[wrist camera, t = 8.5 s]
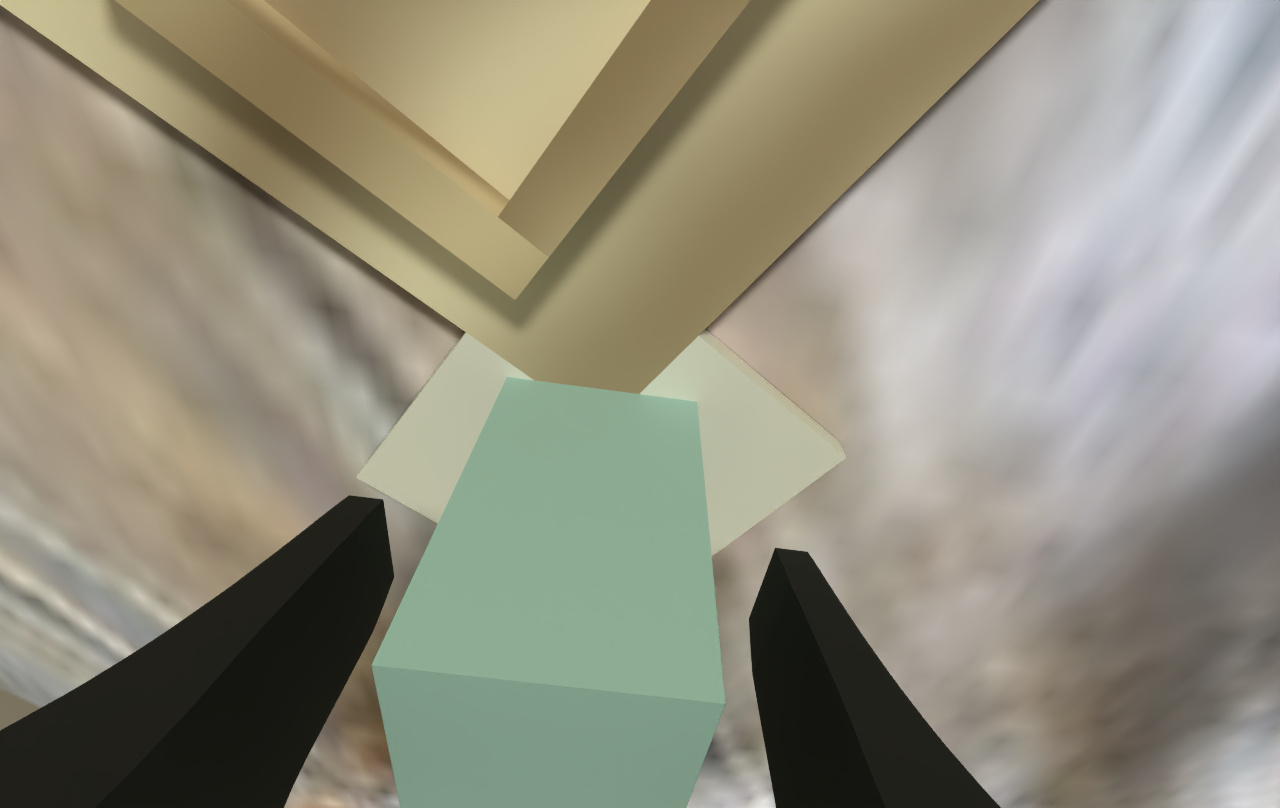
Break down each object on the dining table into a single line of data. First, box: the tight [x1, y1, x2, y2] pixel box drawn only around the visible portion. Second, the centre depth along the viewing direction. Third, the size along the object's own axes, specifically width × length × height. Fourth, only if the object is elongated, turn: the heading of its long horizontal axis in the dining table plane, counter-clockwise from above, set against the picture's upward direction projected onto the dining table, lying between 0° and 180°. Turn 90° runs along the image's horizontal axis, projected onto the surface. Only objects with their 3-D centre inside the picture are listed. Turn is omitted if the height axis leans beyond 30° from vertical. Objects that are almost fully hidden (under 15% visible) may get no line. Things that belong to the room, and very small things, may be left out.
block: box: [372, 377, 725, 808], centre depth 10 cm, size 4×4×6 cm
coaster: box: [356, 330, 846, 556], centre depth 13 cm, size 8×8×1 cm
